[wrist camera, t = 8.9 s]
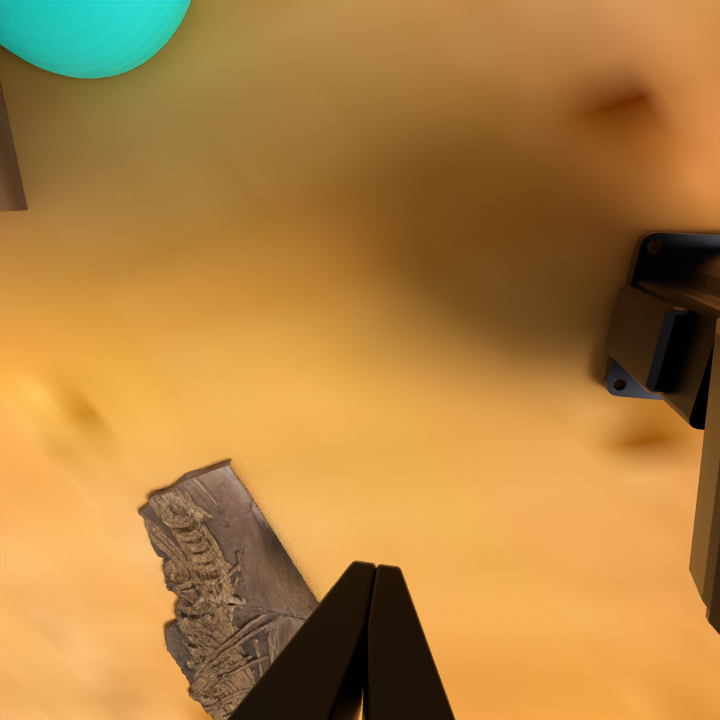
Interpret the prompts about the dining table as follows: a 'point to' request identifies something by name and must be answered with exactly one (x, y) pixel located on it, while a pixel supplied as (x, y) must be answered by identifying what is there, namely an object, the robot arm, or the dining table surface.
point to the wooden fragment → (224, 585)
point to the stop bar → (9, 168)
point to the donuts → (88, 33)
